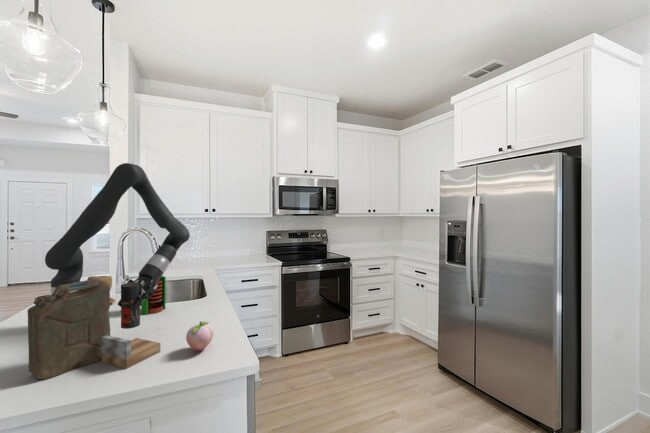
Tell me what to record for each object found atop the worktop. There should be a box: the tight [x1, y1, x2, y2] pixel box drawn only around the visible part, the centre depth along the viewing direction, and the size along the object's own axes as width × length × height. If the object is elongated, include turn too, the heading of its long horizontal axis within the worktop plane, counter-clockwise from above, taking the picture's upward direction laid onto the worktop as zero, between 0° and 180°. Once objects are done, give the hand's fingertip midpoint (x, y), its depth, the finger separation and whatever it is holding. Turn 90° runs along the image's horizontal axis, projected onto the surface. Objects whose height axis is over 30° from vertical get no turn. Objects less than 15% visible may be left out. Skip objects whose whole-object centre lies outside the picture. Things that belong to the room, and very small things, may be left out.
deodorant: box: [120, 282, 141, 330], centre depth 113 cm, size 6×6×15 cm
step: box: [101, 335, 161, 369], centre depth 101 cm, size 11×12×8 cm
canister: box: [27, 279, 111, 380], centre depth 95 cm, size 19×8×25 cm, turn 147°
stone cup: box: [86, 275, 116, 304], centre depth 154 cm, size 15×12×15 cm
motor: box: [140, 275, 167, 316], centre depth 146 cm, size 10×9×20 cm
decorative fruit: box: [185, 320, 214, 351], centre depth 106 cm, size 9×8×10 cm
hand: (126, 307), depth 111 cm, fingers closed on deodorant, 6 cm apart
